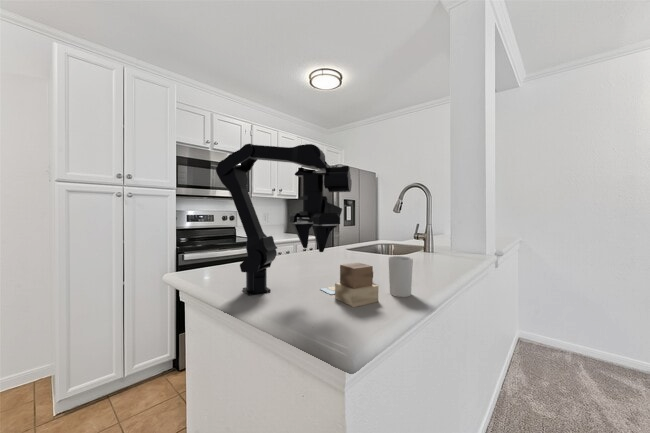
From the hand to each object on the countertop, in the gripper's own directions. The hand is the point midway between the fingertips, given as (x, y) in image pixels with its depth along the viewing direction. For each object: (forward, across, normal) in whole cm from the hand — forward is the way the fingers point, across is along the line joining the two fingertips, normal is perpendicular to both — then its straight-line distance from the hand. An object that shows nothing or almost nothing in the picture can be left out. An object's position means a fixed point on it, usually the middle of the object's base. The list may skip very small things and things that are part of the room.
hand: (312, 249), depth 74 cm
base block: (+12, -9, -8) cm, 17 cm away
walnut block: (+8, -9, -8) cm, 15 cm away
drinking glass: (+13, -11, -22) cm, 28 cm away
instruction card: (+12, +1, -9) cm, 15 cm away
